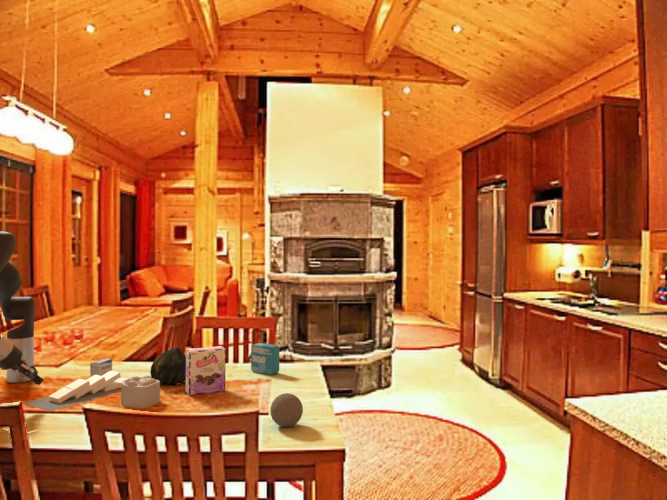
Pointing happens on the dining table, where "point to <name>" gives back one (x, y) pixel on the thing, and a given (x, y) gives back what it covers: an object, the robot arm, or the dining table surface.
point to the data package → (265, 358)
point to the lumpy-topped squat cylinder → (140, 392)
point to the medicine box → (100, 367)
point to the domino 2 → (93, 382)
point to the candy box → (205, 370)
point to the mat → (69, 400)
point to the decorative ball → (286, 410)
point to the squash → (169, 367)
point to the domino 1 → (69, 390)
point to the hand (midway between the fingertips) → (40, 382)
